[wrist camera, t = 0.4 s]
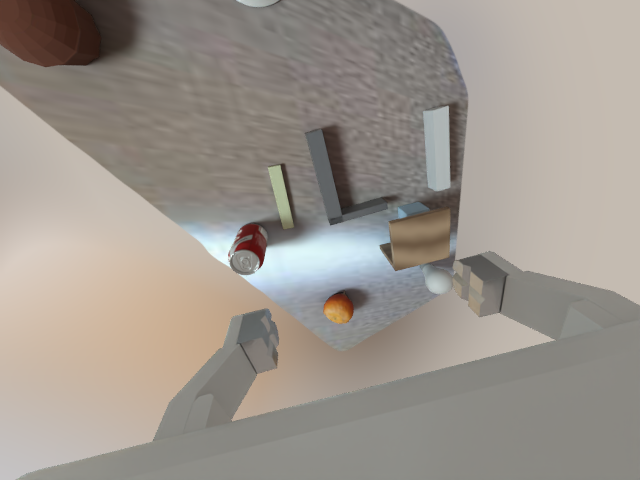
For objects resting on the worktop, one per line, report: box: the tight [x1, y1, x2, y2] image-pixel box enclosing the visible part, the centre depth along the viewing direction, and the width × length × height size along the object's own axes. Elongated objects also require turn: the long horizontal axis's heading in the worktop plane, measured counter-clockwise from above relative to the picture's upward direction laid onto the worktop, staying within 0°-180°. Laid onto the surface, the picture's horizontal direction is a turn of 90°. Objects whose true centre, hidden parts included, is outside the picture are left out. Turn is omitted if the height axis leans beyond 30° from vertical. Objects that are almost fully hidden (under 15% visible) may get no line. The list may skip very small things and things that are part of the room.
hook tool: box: [305, 129, 388, 225], centre depth 50 cm, size 19×13×4 cm
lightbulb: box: [420, 263, 453, 294], centre depth 60 cm, size 6×6×11 cm
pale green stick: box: [268, 165, 294, 230], centre depth 53 cm, size 14×2×2 cm, turn 9°
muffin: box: [0, 0, 101, 67], centre depth 33 cm, size 12×11×10 cm
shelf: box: [380, 207, 450, 271], centre depth 54 cm, size 12×12×10 cm
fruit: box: [323, 291, 354, 324], centre depth 65 cm, size 8×8×8 cm
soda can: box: [228, 224, 268, 275], centre depth 51 cm, size 7×7×12 cm
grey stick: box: [423, 106, 450, 191], centre depth 50 cm, size 16×3×4 cm, turn 15°
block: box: [398, 202, 429, 219], centre depth 56 cm, size 5×5×5 cm
